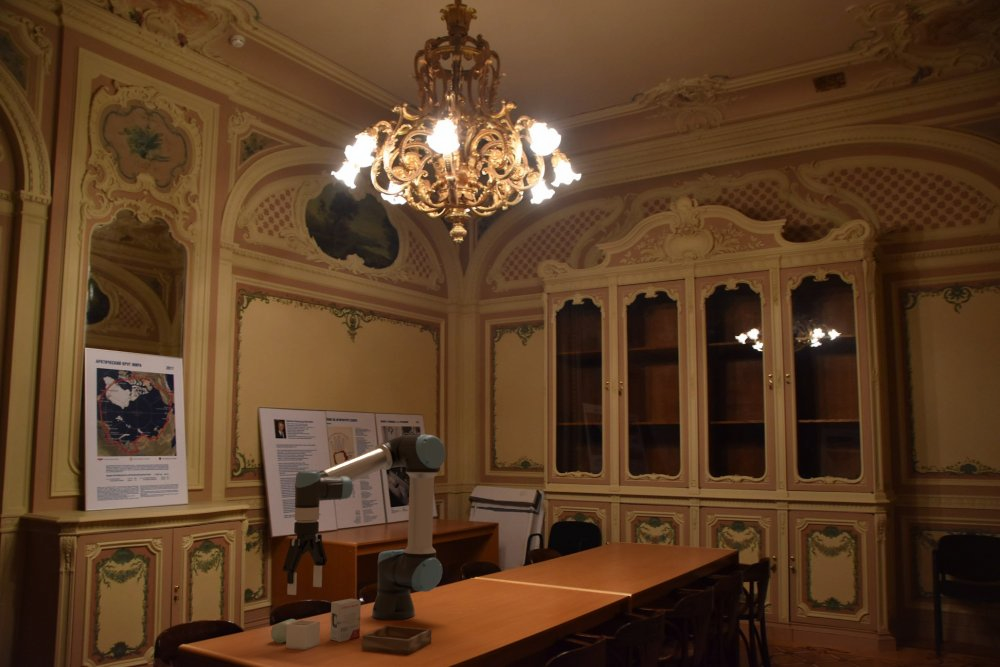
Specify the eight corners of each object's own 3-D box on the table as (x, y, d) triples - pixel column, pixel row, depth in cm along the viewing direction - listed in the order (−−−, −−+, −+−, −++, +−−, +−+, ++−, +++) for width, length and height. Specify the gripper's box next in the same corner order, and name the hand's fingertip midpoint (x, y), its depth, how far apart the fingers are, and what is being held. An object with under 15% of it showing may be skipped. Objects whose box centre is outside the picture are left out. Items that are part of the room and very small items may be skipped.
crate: (386, 638, 265) (386, 625, 266) (431, 642, 260) (431, 629, 260) (361, 649, 252) (362, 635, 252) (408, 654, 246) (408, 640, 246)
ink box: (351, 634, 270) (352, 597, 271) (361, 637, 266) (361, 599, 268) (329, 639, 263) (330, 601, 265) (338, 642, 260) (339, 603, 261)
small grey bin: (300, 642, 260) (300, 619, 261) (319, 644, 257) (319, 621, 258) (286, 648, 254) (286, 624, 254) (305, 650, 251) (306, 626, 252)
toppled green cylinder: (285, 638, 267) (283, 619, 268) (300, 637, 265) (299, 618, 266) (271, 643, 260) (270, 624, 261) (287, 642, 258) (285, 622, 259)
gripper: (319, 516, 273) (317, 582, 270) (272, 524, 250) (269, 597, 247) (338, 517, 270) (337, 584, 267) (292, 525, 247) (290, 598, 244)
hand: (304, 590), depth 257 cm, fingers open, 13 cm apart
